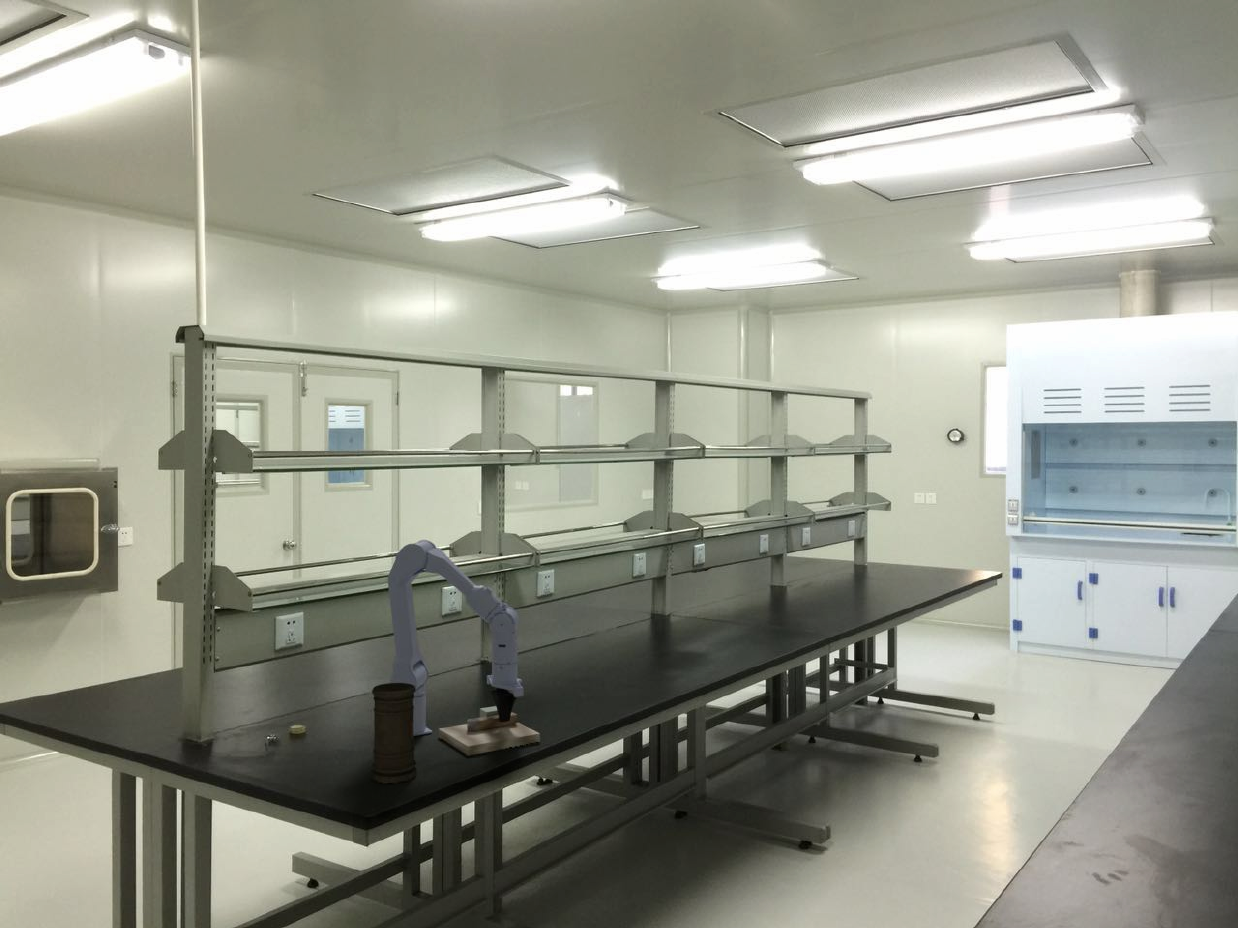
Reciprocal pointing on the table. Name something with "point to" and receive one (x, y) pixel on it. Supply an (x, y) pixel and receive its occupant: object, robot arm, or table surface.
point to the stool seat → (488, 738)
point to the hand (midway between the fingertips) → (504, 721)
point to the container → (393, 733)
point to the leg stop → (488, 711)
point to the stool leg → (489, 722)
